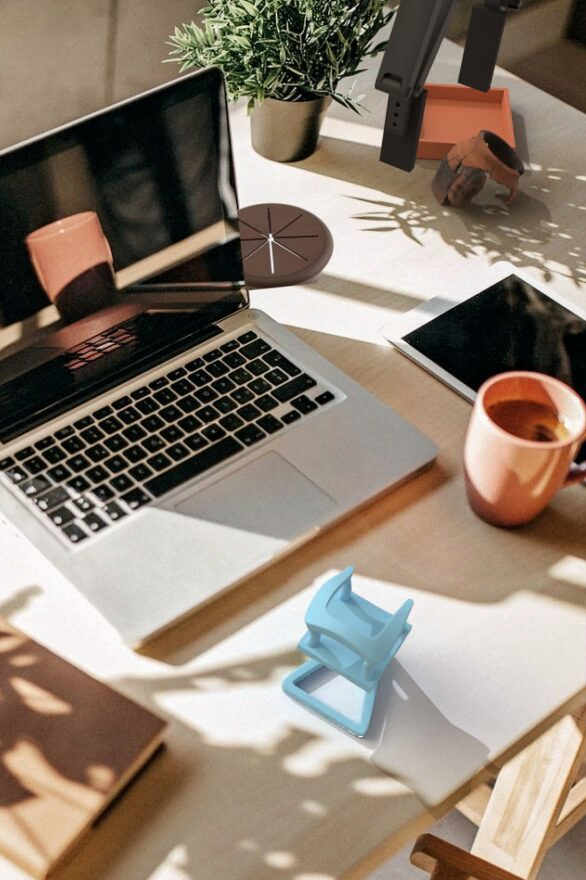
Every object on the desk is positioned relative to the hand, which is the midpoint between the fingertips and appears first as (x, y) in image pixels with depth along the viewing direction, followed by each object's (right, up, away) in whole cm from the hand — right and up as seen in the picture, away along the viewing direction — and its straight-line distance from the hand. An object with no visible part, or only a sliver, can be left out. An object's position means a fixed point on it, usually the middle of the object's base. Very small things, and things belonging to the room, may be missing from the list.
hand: (436, 124), depth 79 cm
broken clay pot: (+11, +6, +38) cm, 40 cm away
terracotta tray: (+12, +18, +46) cm, 51 cm away
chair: (-7, -45, +1) cm, 46 cm away
